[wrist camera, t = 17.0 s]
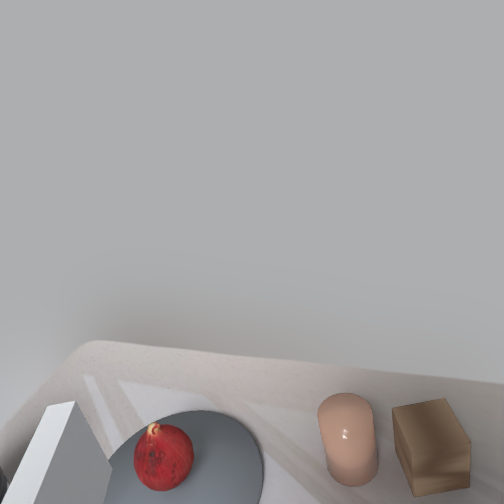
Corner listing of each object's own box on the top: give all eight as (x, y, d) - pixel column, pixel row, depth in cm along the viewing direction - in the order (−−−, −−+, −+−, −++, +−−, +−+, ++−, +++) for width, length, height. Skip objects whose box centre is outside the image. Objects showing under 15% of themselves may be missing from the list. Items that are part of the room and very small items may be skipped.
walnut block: (445, 441, 45) (444, 398, 42) (469, 487, 40) (470, 442, 37) (395, 450, 45) (391, 408, 42) (414, 497, 40) (411, 453, 38)
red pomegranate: (193, 509, 42) (169, 453, 39) (138, 508, 44) (110, 453, 40) (208, 455, 48) (187, 402, 44) (158, 455, 49) (134, 403, 45)
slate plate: (257, 404, 54) (255, 398, 53) (271, 564, 38) (268, 558, 37) (112, 432, 55) (109, 426, 54) (66, 601, 39) (61, 595, 38)
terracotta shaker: (369, 437, 47) (363, 388, 43) (385, 481, 42) (379, 430, 39) (322, 446, 47) (313, 398, 44) (333, 490, 42) (323, 441, 39)
